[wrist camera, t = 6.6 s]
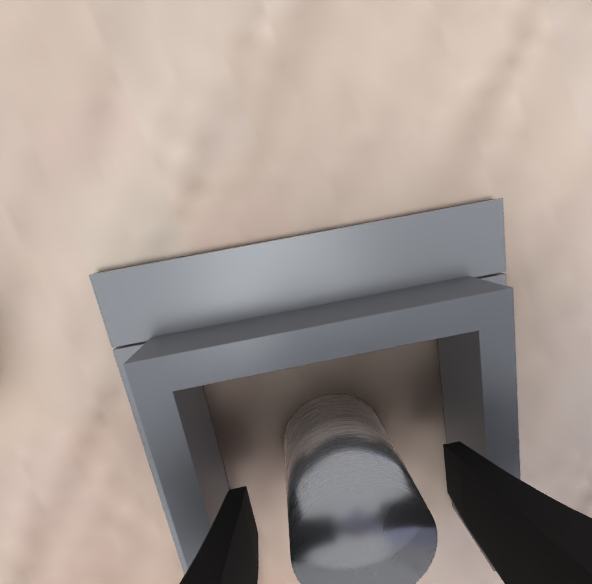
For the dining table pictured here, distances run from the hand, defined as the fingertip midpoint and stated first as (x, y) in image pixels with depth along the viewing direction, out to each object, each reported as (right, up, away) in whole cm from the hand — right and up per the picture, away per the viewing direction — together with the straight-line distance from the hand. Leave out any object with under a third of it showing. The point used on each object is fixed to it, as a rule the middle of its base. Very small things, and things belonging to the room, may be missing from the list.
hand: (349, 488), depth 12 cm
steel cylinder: (0, 0, +3) cm, 3 cm away
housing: (-1, +2, +2) cm, 3 cm away
